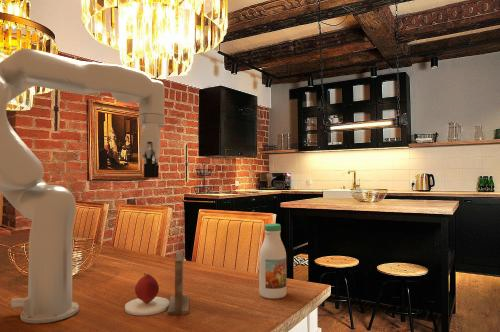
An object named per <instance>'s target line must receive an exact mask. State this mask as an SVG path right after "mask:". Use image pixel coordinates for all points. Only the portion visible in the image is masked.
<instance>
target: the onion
mask: <svg viewBox="0 0 500 332" xmlns="http://www.w3.org/2000/svg"><path fill="white" fill-rule="evenodd" d="M159 290H160V286H159V283H158V281H157V280H156V278H155V277H154V276H152V275H151V274H150V273H148V272H147V271H146V272H144V273H143V276H142V277H141V278H139V280H138V281H137V283H136V285H135V288H134V292H135V296H136V297H137V299H138V298H139V299H140V300H141V301H143V302H144V303H145V304H148V303H149V302H151V301H152V300H153V299H154V298H155V297H158V294H159V292H160V291H159Z"/></svg>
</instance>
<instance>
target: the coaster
mask: <svg viewBox="0 0 500 332" xmlns="http://www.w3.org/2000/svg"><path fill="white" fill-rule="evenodd" d="M169 303H170V299H168V298H166V297H162V296H156V297H155V298H154V299H153V300H152V301H151V302H149V303H148V304H145V303H144V302H143V301H141V300H140V299H139V298H138V297H137V298H135V299H132V300H129V301H128V302H127V303H125V305H124V312H125V313H126V314H128V315H133V316H142V317H144V316H152V315H158V314H161V313H164V312H165V311H168V308H169Z"/></svg>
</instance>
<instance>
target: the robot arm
mask: <svg viewBox="0 0 500 332" xmlns="http://www.w3.org/2000/svg"><path fill="white" fill-rule="evenodd" d="M34 87H38V88H43V89H44V88H45V89H50V90H54V91H55V90H56V91H62V92H66V93H70V94H71V93H72V94H75V95H76V94H77V95H90V94H91V95H92V94H102V93H109V94H110V95H111V96H112V98H113V99H114V100H116V101H118V102H120V103H123V104H138V126H139V127H141V132H140V133H141V135H140V157H141V158H142V159H143V160H144V164H143V178H145V179H148V178H149V179H157V178H159V171H160V169H159V167H160V165H159V159H160V158H161V157H160V156H161V128H164V127H165V93H166V92H165V91H166V90H165V89H166V88H165V84H164V83H163V82H162V81H161V80H156V79H152V78H151V77H150V76H149V75H148V74H147V73H146V72H144V71H141V70H139V69H135V68H133V67H128V66H125V65H119V64H111V63H100V62H94V61H93V62H91V61H82V60H77V59H74V58H71V57H66V56H61V55H57V54H55V53H49V52H45V51H42V50H38V49H37V50H36V49H34V48H33V49H32V48H22V49H21V48H20V49H19V50H17V51H15V52H14V53H12V54H11V55H9V56H8V57H6V58H5V59H3V60H2V61H1V62H0V193H1V195H2V196H3V197H4V198H5V199H6V201H8V202H9V203H10V204H11V206H13V207H14V208H15V209H16V210H17V211H18V212H19V213H20V215H22V216H23V217H25V218H26V219H28V220H30V221H31V225H30V231H29V237H28V282H27V283H28V285H27V286H28V287H27V289H28V290H27V292H28V293H27V295H28V296H26V297H24V298H21V297H13V298H11V300H10V303H9V304H10V308H11V309H12V310H13V309H15V310H17V309H22V311H21V313H20V320H21V321H22V322H24V323H27V324H46V323H53V322H58V321H61V320H64V319H68V318H70V317H73V316H74V315H75V314H77V313H78V312H79V310H80V307H79V303H77V302H76V301H73V243H74V242H73V237H74V236H73V235H74V225H75V220H76V212H77V203H76V199H75V196H74V195H73V193H72V192H71V191H70V190H69V189H67V188H66V187H64V186H62V185H59V184H47V182H45V180H44V179H43V178H44V174H45V170H44V165H43V163H42V161H41V160H40V159H39V158H38V156H37V155H35V154H34V152H33V151H32V150H31V149H30V148H29V146H28V145H27V144H26V143H25V142H24V141H23V140H22V139H21V138H20V136H19V134H17V132H16V131H15V130H14V128H13V127H12V125H11V124H10V121H9V120H8V116H7V107H8V104H9V102H11V101H12V100H13V99H16V98H18V97H20V95H22V94H24V92H26V91H28V90H29V89H30V88H34Z"/></svg>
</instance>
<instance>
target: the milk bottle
mask: <svg viewBox="0 0 500 332" xmlns="http://www.w3.org/2000/svg"><path fill="white" fill-rule="evenodd" d="M281 230H282V226H281V224H280V223H266V224H264V232H265V236H264V239H263V242H262V244H261V247H260V250H259V257H258V258H259V261H258V262H259V264H258V265H259V266H258V267H259V269H258V273H259V274H258V275H259V276H258V277H259V278H258V281H259V282H258V283H259V285H258V287H259V289H258V290H259V292H258V293H259V296H261V297H262V298H265V299H270V300H271V299H275V300H276V299H281V298H282V299H283V298H285V297H286V295H287V284H288V283H287V253H286V248H285V245H284V243H283V241H282V239H281V232H282V231H281Z"/></svg>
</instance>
